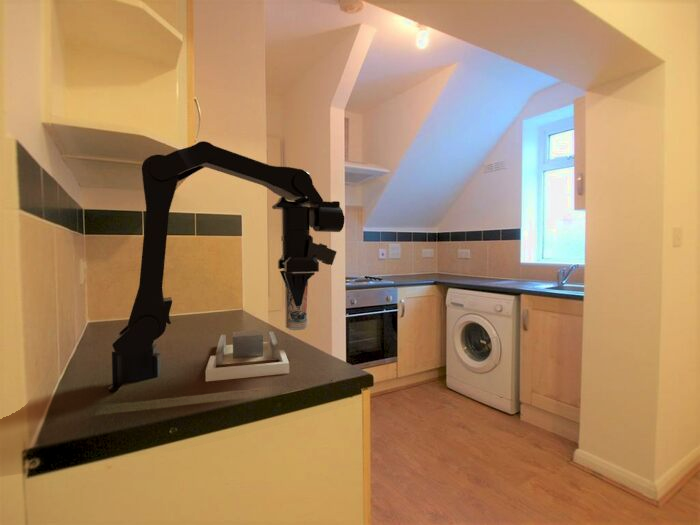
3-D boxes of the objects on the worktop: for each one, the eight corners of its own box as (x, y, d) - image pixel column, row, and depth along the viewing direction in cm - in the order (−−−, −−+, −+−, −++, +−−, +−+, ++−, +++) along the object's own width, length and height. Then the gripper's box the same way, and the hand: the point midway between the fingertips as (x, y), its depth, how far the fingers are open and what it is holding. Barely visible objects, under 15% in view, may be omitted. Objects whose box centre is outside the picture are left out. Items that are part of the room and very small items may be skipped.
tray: (205, 388, 60) (205, 370, 60) (210, 371, 68) (210, 355, 68) (289, 379, 64) (289, 362, 64) (284, 364, 72) (283, 349, 72)
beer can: (286, 331, 73) (286, 273, 73) (284, 326, 78) (284, 272, 77) (310, 329, 74) (309, 272, 74) (306, 325, 79) (305, 271, 79)
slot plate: (216, 370, 69) (215, 351, 69) (221, 350, 83) (221, 334, 83) (279, 365, 72) (278, 346, 72) (273, 346, 87) (273, 331, 86)
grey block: (232, 358, 72) (232, 336, 72) (233, 352, 77) (233, 331, 77) (263, 356, 74) (262, 334, 74) (262, 350, 79) (261, 330, 79)
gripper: (344, 228, 69) (344, 308, 69) (323, 233, 87) (324, 297, 87) (286, 227, 66) (287, 311, 66) (277, 233, 84) (278, 299, 84)
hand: (296, 304), depth 76 cm, fingers closed on beer can, 5 cm apart
